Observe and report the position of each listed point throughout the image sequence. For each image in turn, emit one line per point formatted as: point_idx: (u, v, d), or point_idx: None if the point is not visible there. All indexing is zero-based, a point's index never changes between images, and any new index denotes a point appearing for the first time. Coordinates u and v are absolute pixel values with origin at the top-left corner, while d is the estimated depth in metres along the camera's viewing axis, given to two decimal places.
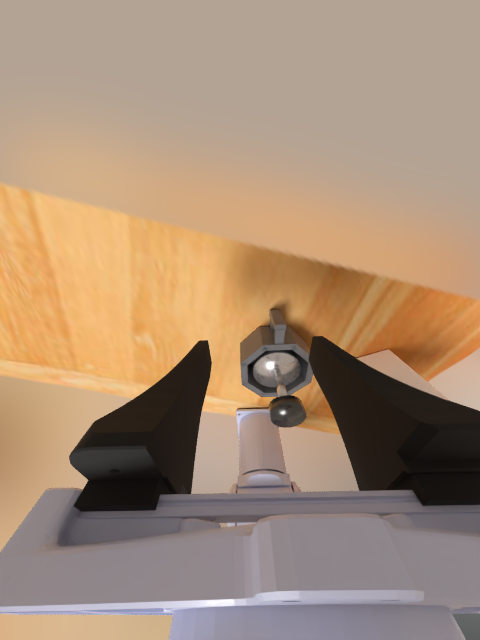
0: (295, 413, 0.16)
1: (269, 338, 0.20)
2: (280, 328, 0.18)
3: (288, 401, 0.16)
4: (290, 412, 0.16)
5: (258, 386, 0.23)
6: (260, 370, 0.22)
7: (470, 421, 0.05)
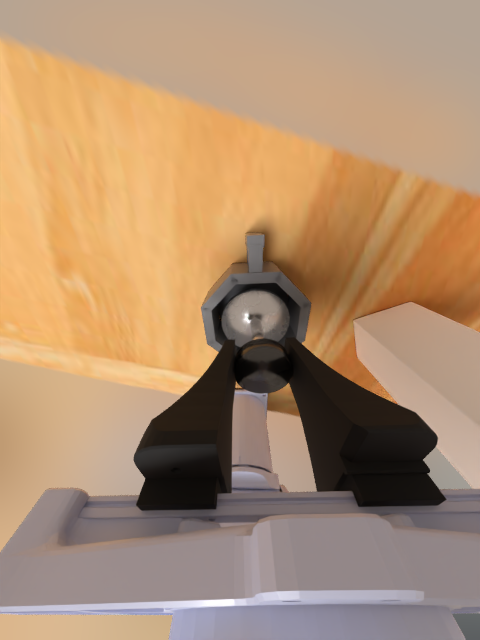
0: (275, 365, 0.10)
1: (242, 269, 0.14)
2: (255, 242, 0.12)
3: (263, 345, 0.10)
4: (266, 363, 0.10)
5: None
6: (232, 321, 0.15)
7: (401, 423, 0.05)
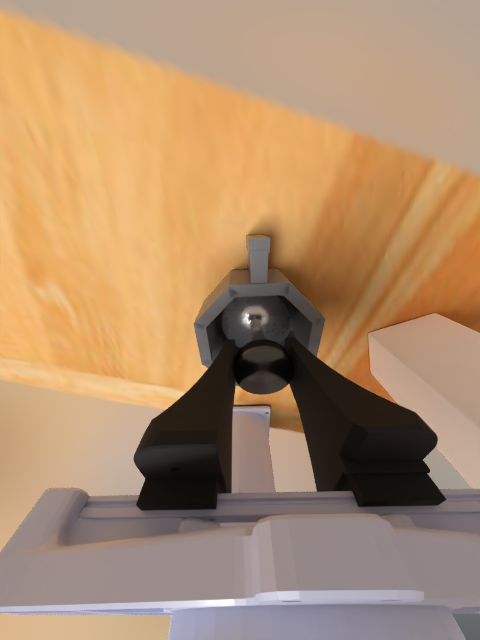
0: (275, 366, 0.10)
1: (243, 278, 0.12)
2: (259, 247, 0.10)
3: (263, 346, 0.10)
4: (266, 364, 0.10)
5: None
6: (232, 321, 0.15)
7: (401, 423, 0.05)
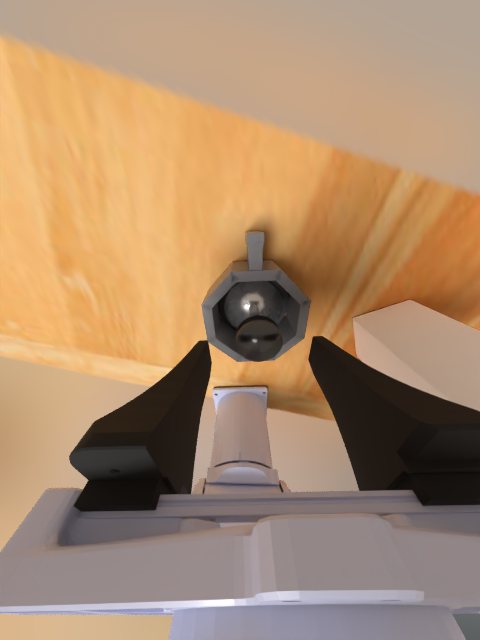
0: (268, 336, 0.12)
1: (243, 267, 0.14)
2: (255, 240, 0.12)
3: (258, 320, 0.12)
4: (261, 334, 0.12)
5: (232, 346, 0.17)
6: (233, 306, 0.17)
7: (470, 421, 0.05)
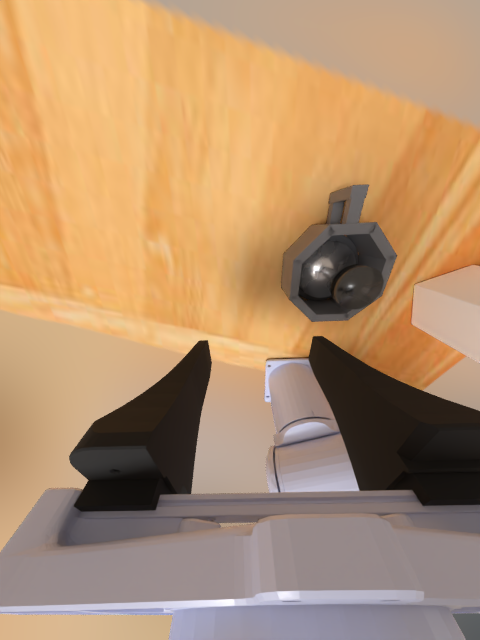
0: (370, 281, 0.13)
1: None
2: (359, 192, 0.13)
3: (362, 266, 0.13)
4: (364, 279, 0.13)
5: (308, 306, 0.18)
6: (307, 269, 0.18)
7: (470, 421, 0.05)
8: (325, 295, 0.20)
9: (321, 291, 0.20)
